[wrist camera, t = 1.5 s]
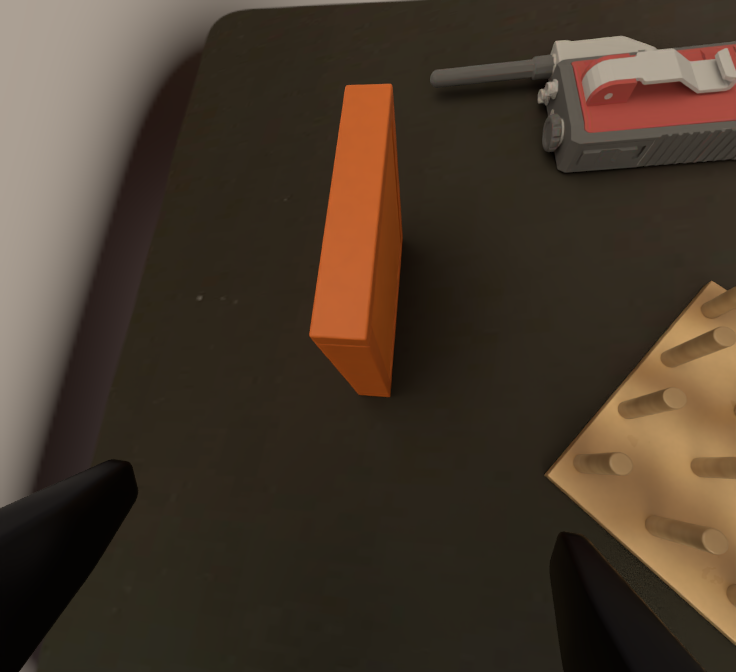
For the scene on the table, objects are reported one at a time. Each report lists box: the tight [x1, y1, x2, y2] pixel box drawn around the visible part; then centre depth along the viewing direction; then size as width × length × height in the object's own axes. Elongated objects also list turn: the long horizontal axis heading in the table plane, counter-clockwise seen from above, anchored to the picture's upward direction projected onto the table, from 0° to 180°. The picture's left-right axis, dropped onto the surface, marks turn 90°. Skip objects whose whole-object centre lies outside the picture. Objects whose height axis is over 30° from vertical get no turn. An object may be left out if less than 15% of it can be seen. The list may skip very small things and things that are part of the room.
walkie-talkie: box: [430, 36, 736, 173], centre depth 24 cm, size 9×4×20 cm
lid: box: [309, 84, 403, 397], centre depth 19 cm, size 10×2×11 cm, turn 174°
